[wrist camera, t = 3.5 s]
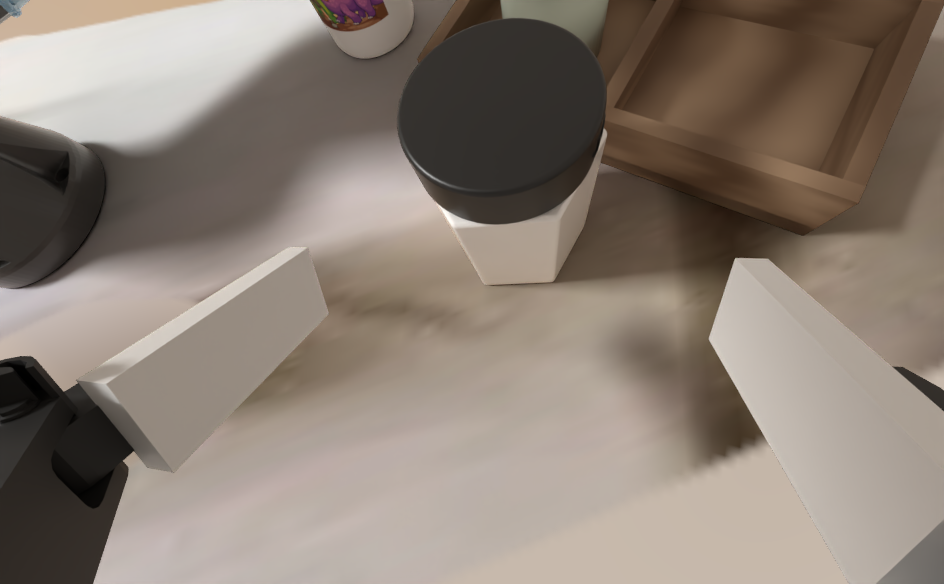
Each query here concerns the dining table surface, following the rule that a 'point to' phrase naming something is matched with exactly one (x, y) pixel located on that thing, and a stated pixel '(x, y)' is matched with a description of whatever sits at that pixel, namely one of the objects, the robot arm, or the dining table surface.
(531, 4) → the sugar pot
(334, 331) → the dining table surface
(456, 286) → the dining table surface
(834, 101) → the caddy
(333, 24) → the milk bottle
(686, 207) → the dining table surface
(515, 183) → the jar
